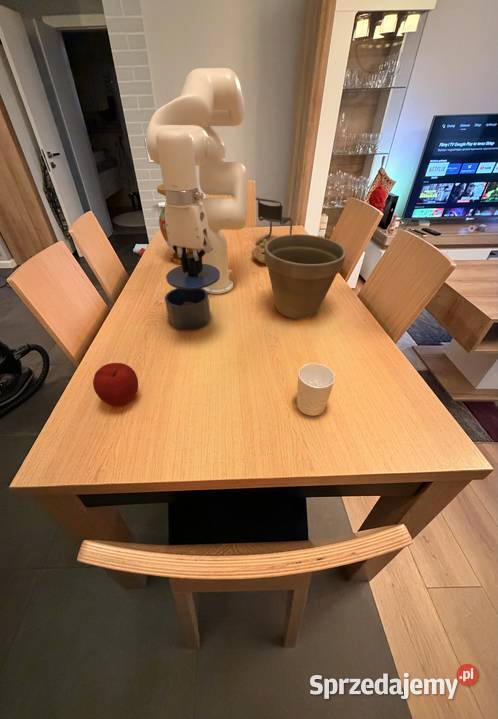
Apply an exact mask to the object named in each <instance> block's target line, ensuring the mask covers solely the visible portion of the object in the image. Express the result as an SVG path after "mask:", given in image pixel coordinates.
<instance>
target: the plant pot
mask: <svg viewBox="0 0 498 719" xmlns="http://www.w3.org/2000/svg"><path fill="white" fill-rule="evenodd" d="M264 252H265V263H264V264H265V266H266V268H267V270H268V275H269V280H270V285H271V289H272V295H273V298H274V303H275V307H276V310H277V312H278V313H279V314H281V315H282V316H284V317H287V318H290V319H294V320H295V319H297V320H302V319H309V318H311V317H313V316H315V315H316V314H317V313H318V312H319V310H320V308H321V306H322V304H323V302H324V300H325V298H326V297H327V294H328V292H329V291H330V289H331V287H332V284H333V282H334V280H335V279H336V276H337V275H338V274H339V273H340V272H341V271H342V270H343V266H344V262H345V260H346V255H347V250H346V249H345V247H344V246H343V245H342V244H340V243H339V242H337V241H335V240H332V239H330V238H327V237H323V236H317V235H314V234H312V235H311V234H303V233H302V234H299V233H297V234H291V235H289V234H284V235H279V236H276V237H273V238H271V239H269V240H267V243H266V244H265V249H264Z"/></svg>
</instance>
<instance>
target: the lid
mask: <svg viewBox="0 0 498 719" xmlns="http://www.w3.org/2000/svg"><path fill="white" fill-rule="evenodd" d="M185 258H186V264H187V272H186V273H183V268H182V265H178V266H176V267H174V268H172V269H171V270H169V271H168V272H167V274H166V276H165V279H166V282H167V284H168V285H169V286H171V287H173V288H174V289H176V288H179V289H189V290H190V289H200V288H205V287H208V286H210V285H212V284H214V283H216V282H217V281H218V280H219V278H220V271H219V270H218V269H217V268H216V267H214V266H211V265H208V264H203V263H202V265H203V269H202V271H201V272H200V273H199V274H198V275H195V274H194V267H193V260H195V259H194V255H193V254H188V255H186V256H185Z"/></svg>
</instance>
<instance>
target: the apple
mask: <svg viewBox="0 0 498 719" xmlns="http://www.w3.org/2000/svg"><path fill="white" fill-rule="evenodd" d="M92 385H93V390H94V392H95V394H96V395H97V397H98V399H100V400H101V401H102V402H103V403H105V404H106V405H107V406H110V407H114V408H121V407H122V408H123V407H124V406H127V405H128V404H131V402H133V401H134V399H135V398H136V396H137V394H138V390H139V378H138V375H137V373H136V371H135V370H134V369H133V367H131V366H129V365H128V364H126V363H122V362H110V363H107V364H104V365H102V366H101V367H100V368H99V369H97V371H96V372H95V373H94V376H93V379H92Z"/></svg>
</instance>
